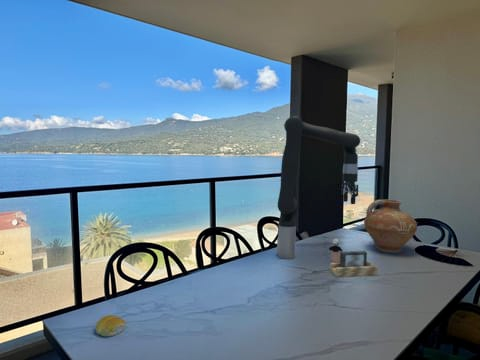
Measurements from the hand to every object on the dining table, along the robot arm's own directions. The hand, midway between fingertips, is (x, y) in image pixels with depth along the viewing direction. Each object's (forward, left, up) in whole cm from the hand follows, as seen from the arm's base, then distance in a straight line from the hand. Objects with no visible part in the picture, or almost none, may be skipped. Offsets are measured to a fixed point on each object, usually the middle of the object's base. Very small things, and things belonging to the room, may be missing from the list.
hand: (349, 202), depth 170 cm
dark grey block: (-7, -21, -28) cm, 36 cm away
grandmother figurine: (-10, -7, -30) cm, 33 cm away
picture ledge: (-7, -21, -30) cm, 37 cm away
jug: (+31, +11, -30) cm, 45 cm away
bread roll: (-107, -58, -31) cm, 126 cm away
